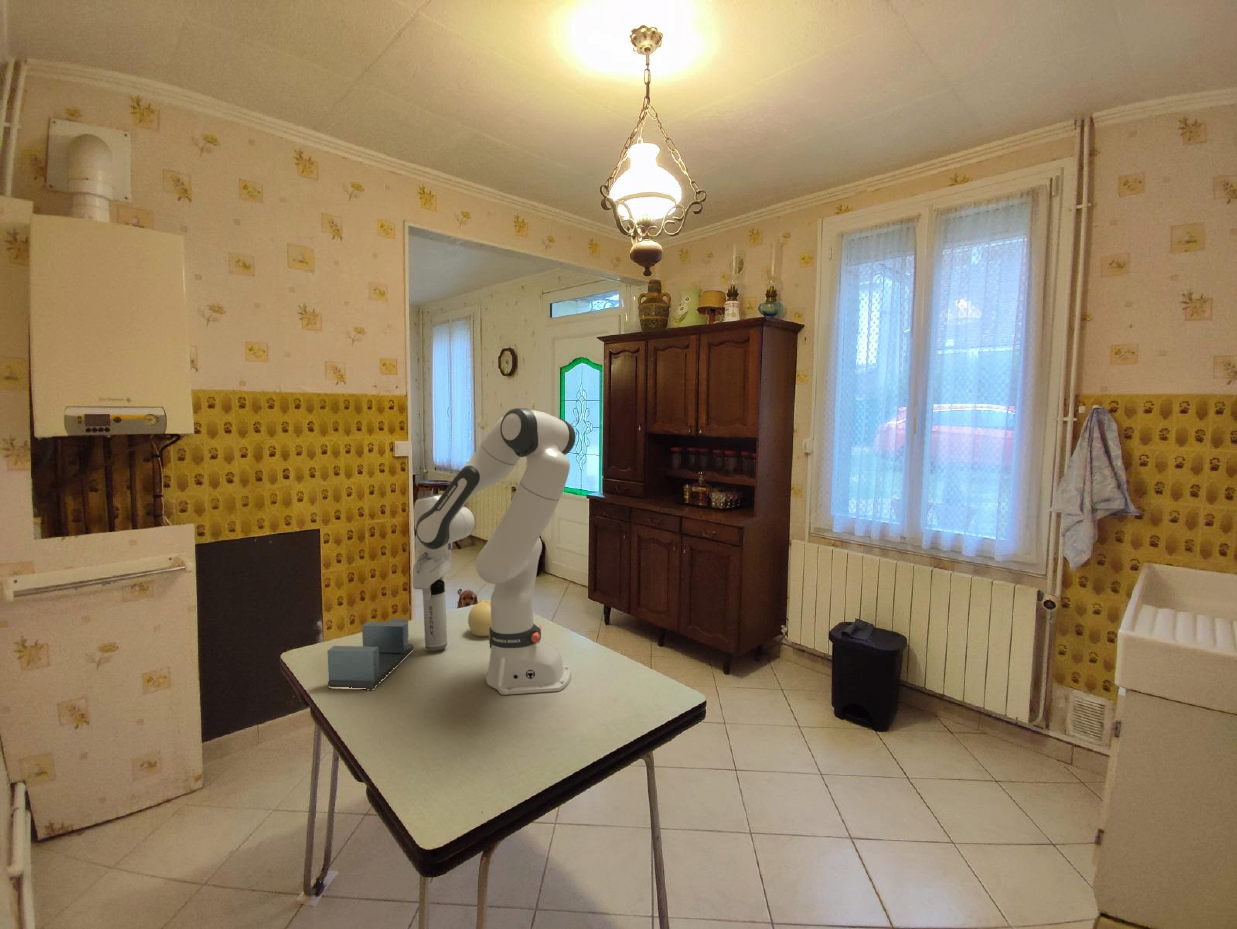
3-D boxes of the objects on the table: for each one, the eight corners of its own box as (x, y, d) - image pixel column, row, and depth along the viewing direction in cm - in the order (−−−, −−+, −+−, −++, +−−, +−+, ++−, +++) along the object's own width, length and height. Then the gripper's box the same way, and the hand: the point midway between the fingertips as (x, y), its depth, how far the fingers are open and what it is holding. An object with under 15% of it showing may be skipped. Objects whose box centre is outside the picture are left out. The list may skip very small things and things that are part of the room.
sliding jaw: (381, 636, 171) (380, 612, 171) (419, 637, 171) (418, 612, 170) (363, 651, 161) (361, 625, 160) (403, 653, 160) (402, 626, 159)
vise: (374, 649, 167) (373, 617, 166) (413, 650, 166) (412, 618, 166) (328, 689, 143) (326, 651, 142) (373, 690, 143) (371, 652, 142)
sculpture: (513, 630, 182) (513, 598, 181) (487, 643, 172) (486, 609, 171) (488, 623, 188) (487, 592, 187) (461, 635, 178) (460, 602, 177)
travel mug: (439, 640, 171) (436, 576, 170) (451, 645, 167) (448, 580, 165) (420, 646, 167) (417, 581, 165) (433, 652, 162) (430, 585, 161)
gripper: (427, 558, 154) (430, 607, 155) (454, 541, 174) (456, 584, 175) (405, 558, 154) (407, 606, 155) (434, 541, 174) (436, 584, 176)
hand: (433, 595), depth 165 cm, fingers closed on travel mug, 6 cm apart
